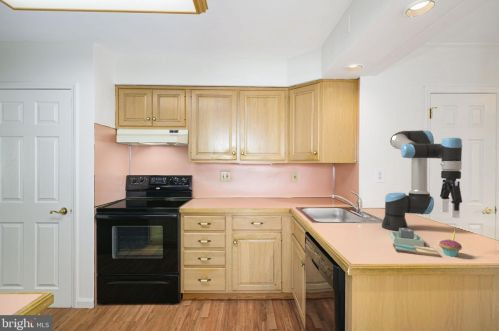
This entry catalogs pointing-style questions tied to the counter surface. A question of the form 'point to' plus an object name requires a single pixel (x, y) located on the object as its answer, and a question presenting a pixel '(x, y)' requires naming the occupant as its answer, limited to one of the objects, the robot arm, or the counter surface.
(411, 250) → the board
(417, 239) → the tray
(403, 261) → the counter surface
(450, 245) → the cupcake
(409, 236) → the die
